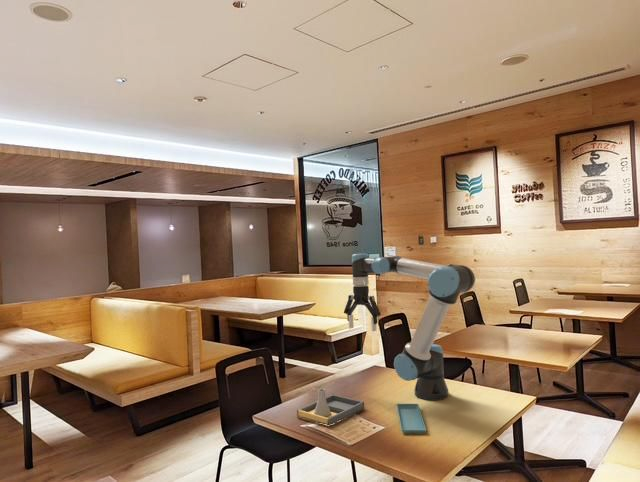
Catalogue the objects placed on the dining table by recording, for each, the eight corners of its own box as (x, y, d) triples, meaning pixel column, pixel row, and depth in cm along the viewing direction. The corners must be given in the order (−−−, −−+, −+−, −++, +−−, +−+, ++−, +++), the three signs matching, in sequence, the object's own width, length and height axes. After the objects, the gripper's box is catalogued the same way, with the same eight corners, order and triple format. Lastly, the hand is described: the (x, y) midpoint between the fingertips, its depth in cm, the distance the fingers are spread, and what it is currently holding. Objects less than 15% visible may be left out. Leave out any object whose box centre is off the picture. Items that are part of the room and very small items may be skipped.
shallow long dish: (427, 435, 165) (426, 428, 165) (401, 435, 166) (401, 428, 166) (418, 409, 191) (418, 403, 191) (396, 409, 192) (396, 403, 192)
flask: (329, 418, 181) (328, 393, 181) (311, 417, 183) (310, 392, 183) (332, 411, 188) (331, 387, 189) (315, 410, 190) (314, 386, 190)
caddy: (364, 408, 193) (364, 401, 193) (329, 427, 175) (328, 419, 176) (333, 401, 204) (332, 394, 204) (297, 417, 187) (296, 410, 187)
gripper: (335, 285, 225) (337, 328, 225) (378, 287, 209) (379, 333, 209) (345, 284, 231) (346, 325, 231) (386, 285, 215) (388, 330, 214)
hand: (362, 329), depth 220 cm, fingers open, 13 cm apart
